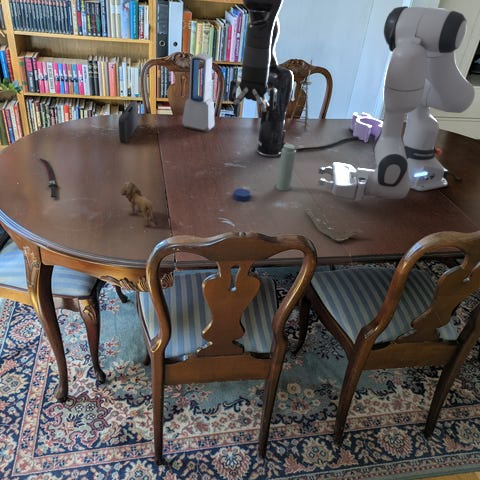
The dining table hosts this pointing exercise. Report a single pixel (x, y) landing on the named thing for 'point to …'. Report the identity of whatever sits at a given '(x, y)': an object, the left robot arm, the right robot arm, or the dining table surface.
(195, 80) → the electronic device
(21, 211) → the dining table surface
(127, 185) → the lion figurine
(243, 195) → the lid
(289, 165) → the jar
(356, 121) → the lavender notched block
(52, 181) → the sword
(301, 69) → the miniature windmill
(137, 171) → the dining table surface
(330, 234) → the jawbone
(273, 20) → the left robot arm
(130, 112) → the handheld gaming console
